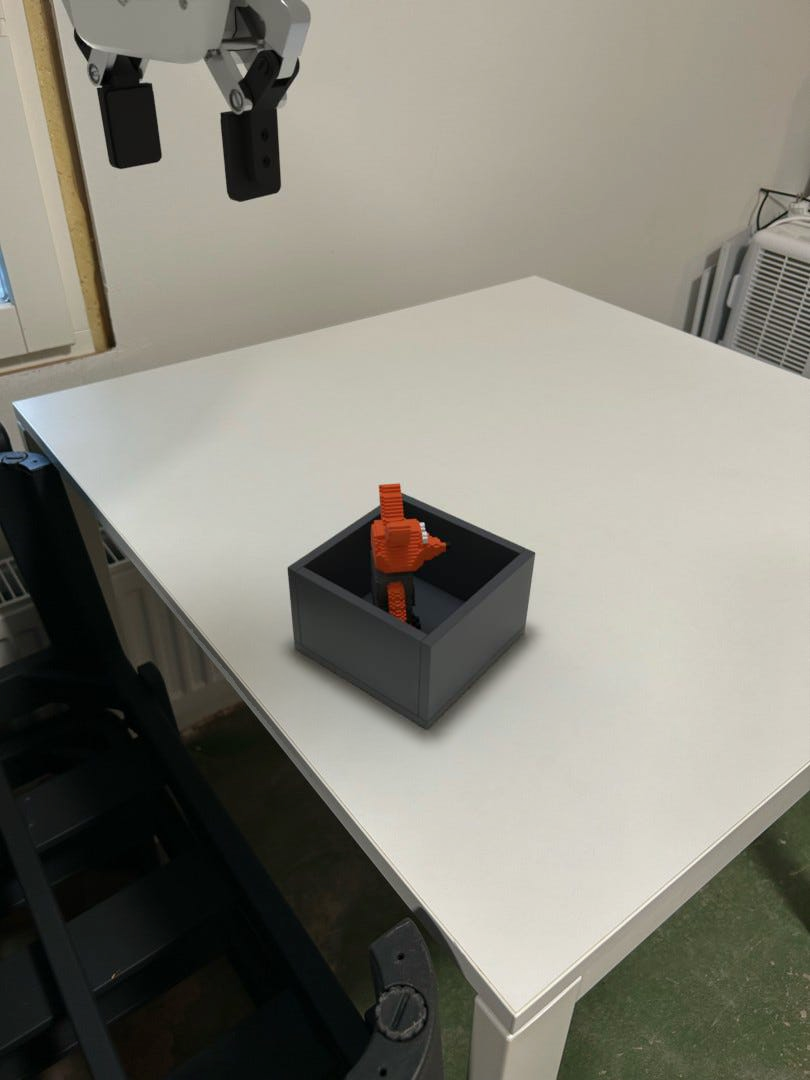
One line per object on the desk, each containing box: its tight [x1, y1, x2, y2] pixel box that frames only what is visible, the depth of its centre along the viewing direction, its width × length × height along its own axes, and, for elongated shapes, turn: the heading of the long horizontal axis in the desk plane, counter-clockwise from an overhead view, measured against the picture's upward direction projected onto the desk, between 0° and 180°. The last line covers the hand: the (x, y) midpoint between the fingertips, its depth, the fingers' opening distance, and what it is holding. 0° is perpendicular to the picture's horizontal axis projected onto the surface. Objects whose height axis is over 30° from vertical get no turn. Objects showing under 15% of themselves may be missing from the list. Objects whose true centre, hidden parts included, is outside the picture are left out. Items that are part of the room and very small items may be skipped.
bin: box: [286, 492, 536, 730], centre depth 61 cm, size 13×13×8 cm
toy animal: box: [371, 482, 451, 629], centre depth 59 cm, size 8×6×12 cm
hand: (192, 179), depth 45 cm, fingers open, 9 cm apart
